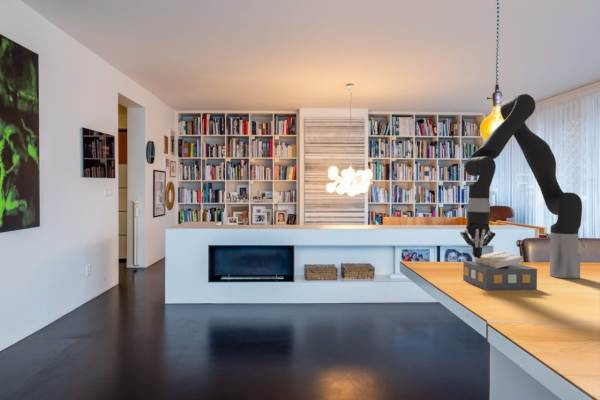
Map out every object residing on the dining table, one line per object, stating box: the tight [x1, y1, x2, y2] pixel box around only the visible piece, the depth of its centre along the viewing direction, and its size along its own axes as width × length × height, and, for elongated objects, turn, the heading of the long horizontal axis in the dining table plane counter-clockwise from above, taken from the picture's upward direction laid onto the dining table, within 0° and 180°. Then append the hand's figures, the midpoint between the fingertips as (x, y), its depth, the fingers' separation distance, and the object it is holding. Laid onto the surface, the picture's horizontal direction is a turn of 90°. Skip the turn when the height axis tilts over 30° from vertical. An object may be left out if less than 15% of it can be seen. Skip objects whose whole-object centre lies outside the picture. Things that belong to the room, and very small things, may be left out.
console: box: [462, 260, 538, 291], centre depth 144 cm, size 18×16×8 cm
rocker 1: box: [482, 252, 515, 266], centre depth 144 cm, size 10×4×2 cm, turn 94°
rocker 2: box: [489, 254, 525, 269], centre depth 139 cm, size 10×4×2 cm, turn 94°
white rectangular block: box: [474, 250, 507, 264], centre depth 149 cm, size 10×4×2 cm, turn 94°
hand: (476, 257), depth 149 cm, fingers closed
